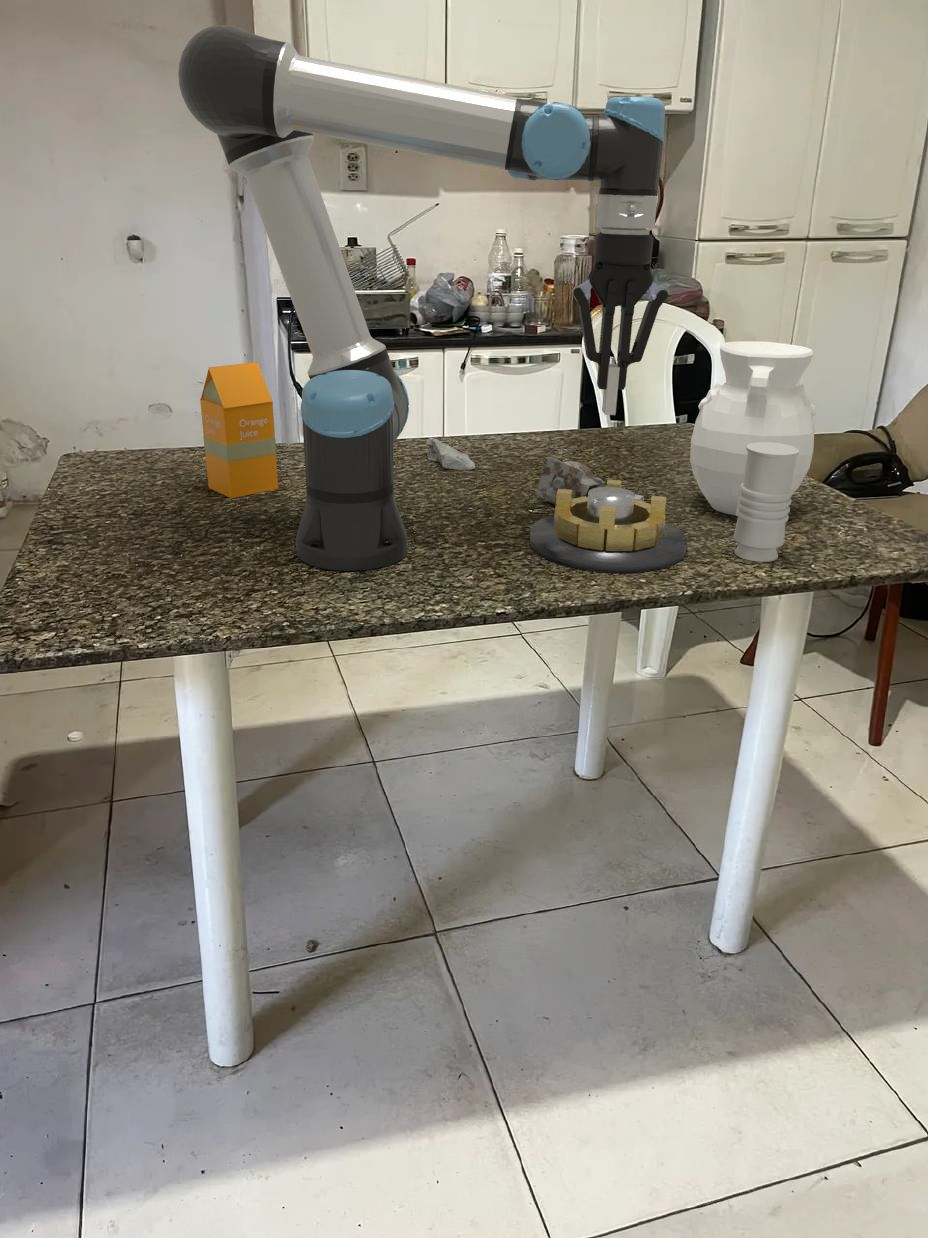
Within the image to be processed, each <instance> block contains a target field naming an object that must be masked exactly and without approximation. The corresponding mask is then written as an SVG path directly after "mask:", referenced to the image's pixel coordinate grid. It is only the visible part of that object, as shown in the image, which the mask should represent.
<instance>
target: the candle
mask: <svg viewBox="0 0 928 1238" xmlns="http://www.w3.org/2000/svg"><path fill="white" fill-rule="evenodd" d="M746 450H747V451H748V454H747V461H746V468H745V475H744V482H743V483H742V484H741V485H740V488H739V495H738V502H737V509H736V515H735V516H736V517H737V521H736V525H735V527H734V528H735V529H734V532H733V533H734V534H733V540H734V541H735V542H736V543H738V544H737V547H736V548H735V550H734V554H735V556H737V557H739V558H741V559H743V560H747V561H752V562H758V563H759V562H762V563H763V562H774V561H776V560H778V558H779V555H778V551H777V548H780V547H782V546H783V545H784V544H785V534H786V533H785V532H786V523H787V522H788V521H789V513H790V511H791V510H790V509H791V508H790V506H791V504H792V498H791V497H792V496H793V491H792V489H791V485H792V479H793V473H794V467H795V461H796V456H797V455H798V454H799V449H797V448H796V447H793V446H790V445H786V444H781V443H772V442H756V443H751V444H748V445H747V447H746Z"/></svg>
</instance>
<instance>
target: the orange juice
mask: <svg viewBox="0 0 928 1238" xmlns="http://www.w3.org/2000/svg"><path fill="white" fill-rule="evenodd" d="M207 368H208V369H207V374H206V377H205V382H204V385H203V389H202V392H201V395H200V400H199V401H200V410H201V411H200V412H201V422H202V424H201V425H202V433H203V437H202V439H203V444H204V445H203V447H204V454H205V464H206V474H207V484H208V489H211V490H213V491H215V492H217V493H219V494H221V495H223V496H225V497H228V498H230V499H235V498H239V497H244V496H250V495H253V494H254V495H255V494H260V493H262V492H263V493H264V492H269V491H275V490H278V489H279V480H278V477H279V476H278V464H277V444H276V436H275V435H276V434H275V432H276V431H275V418H274V405H273V399H272V397H271V394H270V391H269V389H268V385H267V383H266V381H265V378H264V376H263V372H262V371H261V368H260V365H259V362H258V361H254V362H246V363H236V364H234V363H233V364H228V365H227V364H225V365H219V366H218V365H217V366H209V367H207Z"/></svg>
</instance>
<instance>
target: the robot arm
mask: <svg viewBox="0 0 928 1238" xmlns="http://www.w3.org/2000/svg"><path fill="white" fill-rule="evenodd" d="M177 77H178V85H179V89H180V90H179V91H180V94H181V97H182V99H183V101H184V104H185V105H186V107H187V108H186V109H188V111H189V112H190V113H191V116H193V117H194V118H195V120H196V121H197V122H199V123H200V124H201V125H202V126H203V127H204V128H205V129H207V130H209V131H210V132H212V133H214V134H216V135H217V136H216V137H217V138H218V141H219V143H220V146H221V148H222V151H223V154H224V156H225V160H226V161H227V164H228V167H229V169H231V170H232V171H234V172H235V173H237V174H240V175H241V176H243V178H245V179H246V182H247V184H248V186H249V189H250V190H249V191H250V192H251V195H252V197H253V200H254V202H255V206H256V208H257V211H258V213H259V217H260V218H261V219H260V220H261V222H262V224H263V226H264V230H265V233H266V235H267V237H268V241H269V243H270V246H271V248H272V250H273V251H272V252H273V253H274V256H275V257H274V258H275V259H276V261H277V264H278V267H279V269H280V273H281V275H282V278H283V281H284V283H285V285H286V289H287V290H288V291H287V292H288V293H289V297H290V299H291V301H292V304H293V307H294V310H295V313H296V316H297V318H298V320H299V323H300V325H301V328H302V331H303V334H304V337H305V339H306V342H307V345H308V348H309V350H310V353H311V356H312V359H311V363H310V365H309V368H308V370H307V374H308V377H309V380H307V382H306V383H304V384H305V385H304V386H303V387H302V391H301V401H300V416H301V419H302V433H303V434H302V435H303V436H302V437H303V450H304V451H303V452H304V468H305V469H304V470H305V487H306V501H305V503H304V508H303V511H302V515H301V518H300V521H299V525H298V528H297V532H296V536H295V546H296V547H295V549H296V555H297V557H298V559H299V560H300V561H301V562H302V563H305V564H308V565H310V566H313V567H315V568H319V569H325V570H330V571H331V570H332V571H345V572H347V571H350V572H353V571H354V572H355V571H365V570H366V571H367V570H372V569H373V570H374V569H378V568H384V567H387V566H390V565H392V564H395V563H397V562H399V561H400V560H402V559H403V558H405V557H406V555H407V553H408V534H407V531H406V528H405V525H404V521H403V519H402V516H401V513H400V510H399V507H398V505H397V502H396V499H395V490H394V488H395V486H394V482H395V478H394V477H395V474H394V472H395V471H394V468H395V467H394V466H395V465H394V464H395V463H394V444H395V443H396V441H397V439H398V437H399V436H400V434H401V433H402V432H403V430H404V428H405V426H406V424H407V420H408V418H409V413H410V412H409V411H410V401H409V400H410V399H409V394H408V390H407V388H406V385H405V384H404V382H403V380H402V378H401V377H400V376H399V375H398V373H397V372H396V371H395V370H394V366H393V363H392V361H391V358H390V355H389V353H388V350H387V347H386V345H385V344H384V343H382V342H380V341H379V340H376V339H374V338H373V337H372V336H371V333H370V330H369V328H368V326H367V325H368V324H367V322H366V319H365V317H364V314H363V311H362V310H363V309H362V307H361V305H360V301H359V300H358V296H357V294H356V289H355V288H354V284H353V281H352V279H351V276H350V273H349V270H348V268H347V264H346V262H345V258H344V256H343V254H342V250H341V247H340V245H339V240H338V238H337V235H336V233H335V230H334V226H333V224H332V222H331V219H330V216H329V213H328V210H327V208H326V205H325V201H324V198H323V195H322V193H321V189H320V186H319V185H318V181H317V177H316V176H315V173H314V170H313V169H314V168H313V166H312V164H311V160H310V159H309V156H310V151H311V149H312V146H313V144H314V141H315V138H314V135H319V136H324V137H328V138H334V139H339V140H345V141H350V142H354V143H360V144H367V145H372V146H376V147H377V146H378V147H382V148H387V149H394V150H397V151H398V150H399V151H403V152H404V151H405V152H408V153H413V154H414V153H415V154H420V155H425V156H429V157H430V156H431V157H436V158H441V159H446V160H452V161H456V162H462V163H469V164H473V165H478V166H483V167H488V168H489V167H490V168H494V169H500V170H506V171H508V174H509V176H510V177H512V178H514V179H525V180H528V181H533V182H534V181H536V180H540V181H541V180H542V181H543V180H546V181H547V180H548V181H549V180H550V181H588V182H590V181H591V182H593V181H597V182H598V181H599V190H598V191H599V193H598V194H599V195H598V204H597V212H596V213H597V215H596V216H597V217H596V224H595V226H596V228H597V229H600V230H599V233H598V232H597V233H596V234H597V235H595V240H594V241H595V242H594V251H593V252H594V253H593V265H592V269H591V270H590V272H589V274H588V279H587V280H585V281H584V282H582V283H581V284H579V285H574V286H573V287H571V294H572V295H573V298H574V300H575V301H576V303H577V306H578V312H579V319H580V326H581V331H582V338H583V339H582V340H583V345H584V352H585V356H586V358H587V359H588V360H589V361H590V362H592V363H596V364H597V365H598V366H597V378H596V385H597V388H598V389H599V390H603V395H602V407H601V411H602V413H603V414H604V416H605V415H606V416H616V413H617V402H618V390H619V391H621V390H623V391H624V390H625V388H626V384H627V373H628V369H629V368H628V367H629V366H630V365H632V364H635V363H640V362H641V361H642V359H643V357H644V353H645V351H646V348H647V344H648V342H649V339H650V336H651V333H652V330H653V327H654V325H655V320H656V318H657V315H658V313H659V309H660V308H661V306H662V305H663V304H664V302H665V301H666V300H667V299H668V297H669V292H668V291H667V290H665V289H663V288H661V287H660V286H658V285H657V284H656V283H655V282H654V277H653V274H652V270H651V267H652V266H651V265H652V257H653V248H654V247H653V246H654V237H653V235H652V234H650V231H653V230H654V229H655V228H656V227H655V225H656V215H657V204H658V203H657V202H658V193H659V191H658V190H659V188H660V186H659V185H660V177H661V176H660V175H661V168H662V159H663V153H664V152H663V149H664V143H665V136H664V135H665V122H666V121H665V120H666V119H665V118H666V117H665V116H666V107H665V105H664V102H663V101H662V100H661V99H659V98H655V97H650V96H614V97H609V99H608V100H607V101H606V103H605V109H604V111H603V113H598V114H592V115H591V114H582V112H581V111H580V110H578V109H576V108H575V106H573V105H571V104H568V103H563V102H558V101H554V102H549V103H548V102H542V101H537V100H532V99H531V100H530V99H525V98H518V97H517V96H512V95H508V94H501V93H496V92H492V91H486V90H482V89H481V90H480V89H476V88H475V89H474V88H470V87H466V86H459V85H455V84H449V83H445V82H439V81H433V80H429V79H423V78H418V77H412V76H409V75H408V76H407V75H403V74H398V73H391V72H386V71H382V70H381V71H380V70H376V69H371V68H367V67H360V66H354V65H351V64H346V63H340V62H335V61H331V60H325V59H320V58H314V57H308V56H303V55H300V54H299V52H298V51H297V50H296V48H295V47H294V45H293V44H292V43H290V42H287V41H280V40H275V39H272V38H267V37H264V36H260V35H258V34H255V33H252V32H249V31H247V30H245V29H244V28H242V27H240V26H239V27H238V26H235V25H231V24H216V25H212V26H209V27H206V28H204V29H201V30H200V31H198V32H197V33H196V34H194V35H193V36H192V37H191V38H190V40H189V41H188V42H187V44H186V45H185V47H184V49H183V50H182V53H181V57H180V58H179V63H178V75H177ZM591 289H592V290H593V292H594V293H595V294H596V296H597V298H598V300H599V302H600V303H601V305H602V306H601V314H602V315H601V323H600V326H601V327H600V333H599V334H600V336H599V349H598V351H597V347H596V342H595V341H596V340H595V334H594V333H595V332H594V326H593V321H592V314H591V307H590V304H589V303H590V302H589V299H590V298H591V296H592V295H591V294H592V293H591ZM647 291H648V292H647ZM646 292H647V293H648V294H647V297H646V298H647V300H648V302H647V304H646V307H645V309H644V312H643V316H642V317H641V321H640V323H639V327H638V330H637V333H636V335H635V339H634V342H633V345H632V348H631V340H632V331H633V330H632V327H633V319H634V314H635V305H636V304H638V302H639V301H640V300H641V299H642V298H643V296H645V294H646ZM617 307H620V321H619V332H618V345H617V353H616V354H617V356H616V361H617V362H616V363H610V361H611V351H612V340H613V339H612V338H613V328H614V319H615V317H614V316H615V313H616V308H617ZM630 349H631V351H630Z"/></svg>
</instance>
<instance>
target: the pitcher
mask: <svg viewBox="0 0 928 1238" xmlns="http://www.w3.org/2000/svg"><path fill="white" fill-rule="evenodd" d="M719 351H720V361H721V363H722V366H723V367H722V368H723V370H724V375H725V382H724V383H723V384H720V383H715V385H714V386H713V388H711V389H709V390H708V392H707V394H706V396H705V397H703V399H701V401H700V402H699V404H698V409H699V410H698V411H699V413H698V415H697V417H696V419H695V423H694V426H693V427H694V428H693V431H692V434H691V439H690V454H689V462H690V466H691V469H692V474H693V477H694V480H695V481H696V483H697V485H698V487H699V490H700V492H701V493H702V495H703V496H704V497H705V499H706V501H707V502H708V504H709V505H710V506H711V508H712V509H714V510H715V511H717V512H720V513H723V514H726V515H727V514H728V515H732V516H736V509H737V502H738V495H739V488H740V485H741V484H742V483H743V482H744V475H745V468H746V461H747V454H748V451H747V450H746V447H747V445H748V444H751V443H756V442H772V443H781V444H786V445H790V446H793V447H796V448H797V449H799V454H798V455H797V456H796V461H795V467H794V473H793V479H792V485H791V489H792V491H793V493H795V492H796V491H797V490H798V489H799V488H800V487H801V485H802V483H803V481H804V479H805V477H806V476H807V473H808V471H809V470H810V467H811V464H812V459H813V454H814V449H815V448H814V447H815V446H814V444H815V443H814V441H815V427H814V426H815V425H814V416H816V415H817V411H816V409H817V408H816V405H815V404H813V403H812V398H811V396H810V394H809V393H807V392H806V391H805V385H804V383H803V384H798V382H799V381H800V379H801V378H802V376H803V375H804V373H805V371H806V370H807V368H808V367H809V365H810V363H811V361H812V358H813V356H814V354H815V352H814V350H813V349H811V348H809V347H806V346H803V345H797V344H789V343H782V342H775V341H774V342H773V341H755V340H753V341H751V340H750V341H748V340H745V341H744V340H743V341H727V342H723V343H721V345H720V346H719ZM797 384H798V385H797Z"/></svg>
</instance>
